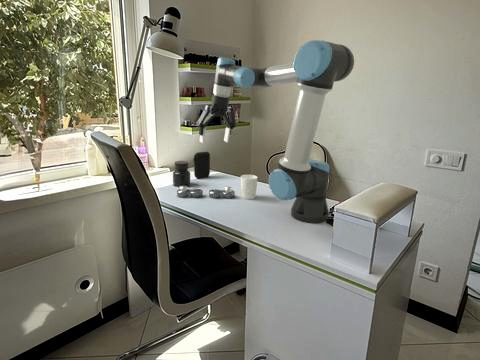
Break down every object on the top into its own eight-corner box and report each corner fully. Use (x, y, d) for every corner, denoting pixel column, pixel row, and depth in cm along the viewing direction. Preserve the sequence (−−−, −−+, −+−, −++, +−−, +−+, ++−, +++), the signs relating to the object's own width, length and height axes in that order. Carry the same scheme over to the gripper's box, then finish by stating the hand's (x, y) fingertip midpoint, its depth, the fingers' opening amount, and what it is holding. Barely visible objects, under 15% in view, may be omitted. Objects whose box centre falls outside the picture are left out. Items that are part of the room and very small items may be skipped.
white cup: (238, 199, 148) (239, 178, 145) (241, 193, 156) (242, 174, 153) (255, 200, 147) (256, 179, 144) (257, 195, 154) (258, 175, 152)
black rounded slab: (194, 179, 177) (194, 153, 173) (191, 178, 179) (191, 152, 175) (210, 177, 183) (211, 151, 179) (208, 175, 186) (208, 150, 181)
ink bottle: (186, 181, 174) (185, 159, 170) (194, 185, 167) (193, 162, 164) (169, 183, 168) (168, 161, 165) (176, 188, 161) (176, 165, 158)
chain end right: (234, 198, 148) (234, 189, 147) (208, 198, 148) (208, 189, 147) (234, 194, 154) (234, 185, 153) (209, 194, 154) (209, 185, 152)
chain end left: (202, 198, 148) (202, 188, 146) (176, 197, 147) (175, 188, 146) (203, 194, 153) (203, 185, 152) (178, 193, 153) (177, 184, 152)
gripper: (238, 95, 150) (230, 139, 158) (192, 91, 135) (186, 139, 143) (248, 98, 145) (240, 143, 153) (201, 95, 130) (194, 145, 137)
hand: (214, 141), depth 148 cm, fingers open, 13 cm apart
